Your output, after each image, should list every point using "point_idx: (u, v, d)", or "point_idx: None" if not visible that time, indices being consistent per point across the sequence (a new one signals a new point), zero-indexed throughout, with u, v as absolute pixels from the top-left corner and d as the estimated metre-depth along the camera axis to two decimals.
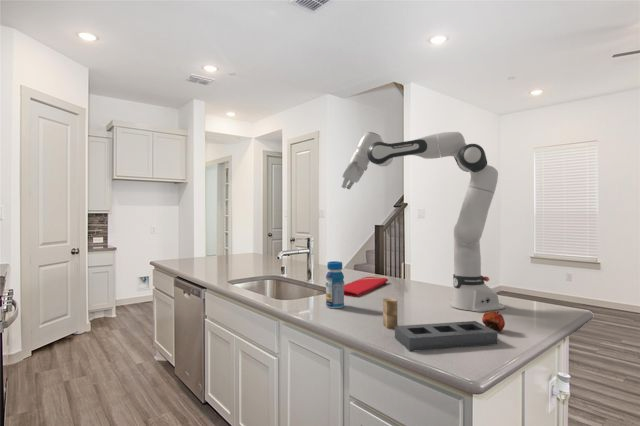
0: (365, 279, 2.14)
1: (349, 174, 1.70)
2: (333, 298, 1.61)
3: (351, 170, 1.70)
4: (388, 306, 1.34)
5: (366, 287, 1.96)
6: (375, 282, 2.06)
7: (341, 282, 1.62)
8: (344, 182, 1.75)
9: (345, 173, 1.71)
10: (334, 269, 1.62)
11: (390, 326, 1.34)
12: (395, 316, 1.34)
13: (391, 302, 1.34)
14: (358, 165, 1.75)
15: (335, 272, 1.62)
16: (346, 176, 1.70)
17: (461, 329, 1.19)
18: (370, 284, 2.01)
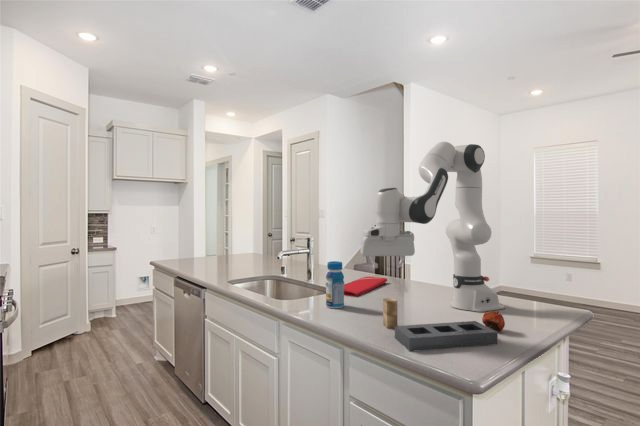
0: (364, 279, 2.14)
1: None
2: (333, 298, 1.61)
3: None
4: (388, 306, 1.34)
5: (365, 286, 1.96)
6: (374, 282, 2.07)
7: (341, 282, 1.62)
8: None
9: None
10: (334, 269, 1.62)
11: (390, 326, 1.34)
12: (395, 316, 1.34)
13: (391, 302, 1.34)
14: None
15: (335, 272, 1.62)
16: None
17: (461, 329, 1.19)
18: (369, 284, 2.02)
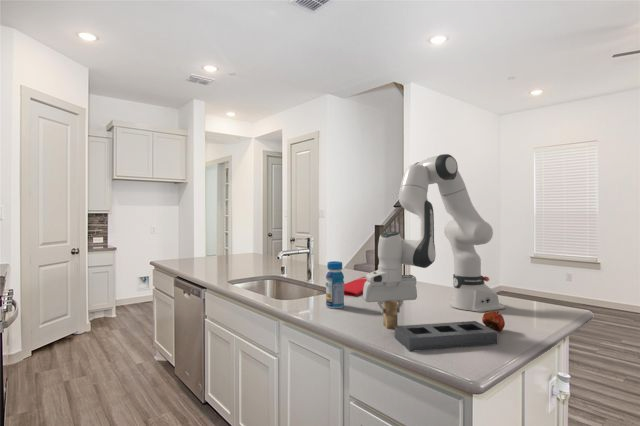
0: (363, 279, 2.15)
1: None
2: (333, 298, 1.61)
3: None
4: (388, 306, 1.34)
5: None
6: None
7: (341, 282, 1.62)
8: None
9: None
10: (334, 269, 1.62)
11: (390, 326, 1.34)
12: (395, 316, 1.34)
13: (391, 302, 1.34)
14: None
15: (335, 272, 1.62)
16: None
17: (461, 329, 1.19)
18: None
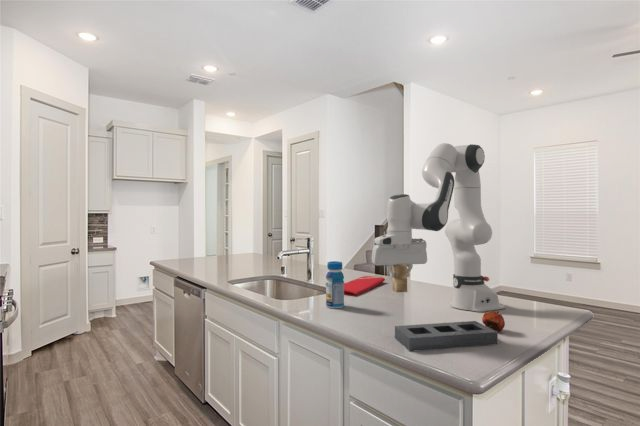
0: (362, 278, 2.15)
1: None
2: (333, 298, 1.61)
3: None
4: (397, 270, 1.31)
5: (363, 286, 1.97)
6: (372, 281, 2.08)
7: (341, 282, 1.62)
8: None
9: None
10: (334, 269, 1.62)
11: (400, 290, 1.31)
12: (405, 280, 1.31)
13: (401, 265, 1.31)
14: None
15: (335, 272, 1.62)
16: None
17: (461, 329, 1.19)
18: (367, 283, 2.03)
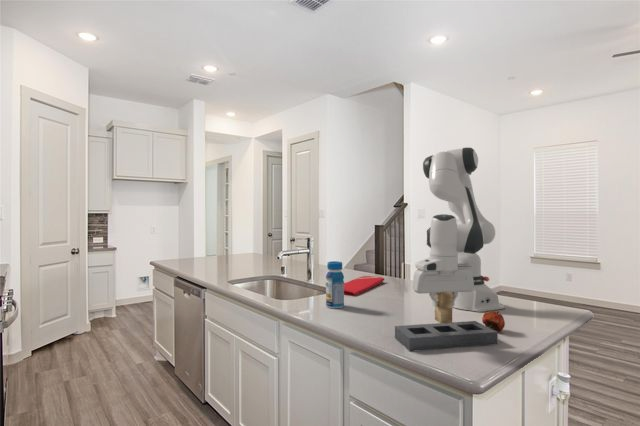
0: (362, 278, 2.16)
1: None
2: (333, 298, 1.61)
3: None
4: (442, 298, 1.18)
5: (363, 286, 1.98)
6: (372, 281, 2.08)
7: (341, 282, 1.62)
8: None
9: None
10: (334, 269, 1.62)
11: (444, 321, 1.18)
12: (450, 310, 1.19)
13: (445, 294, 1.18)
14: None
15: (335, 272, 1.62)
16: None
17: (461, 329, 1.19)
18: (367, 283, 2.03)
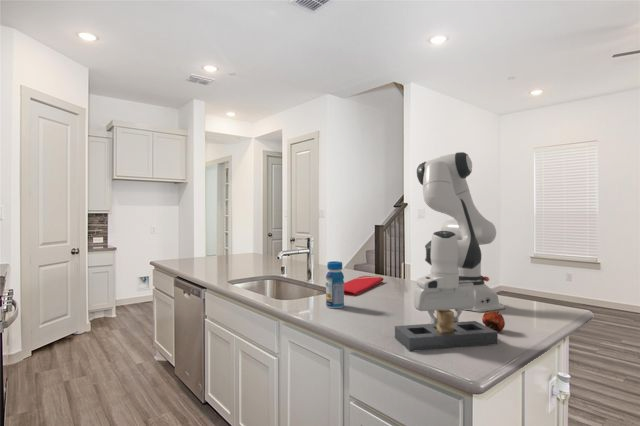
0: (361, 278, 2.16)
1: None
2: (333, 298, 1.61)
3: None
4: (444, 319, 1.18)
5: (362, 286, 1.98)
6: (371, 281, 2.09)
7: (341, 282, 1.62)
8: None
9: None
10: (334, 269, 1.62)
11: None
12: (451, 330, 1.19)
13: (447, 314, 1.18)
14: None
15: (335, 272, 1.62)
16: None
17: (461, 329, 1.19)
18: (366, 283, 2.04)
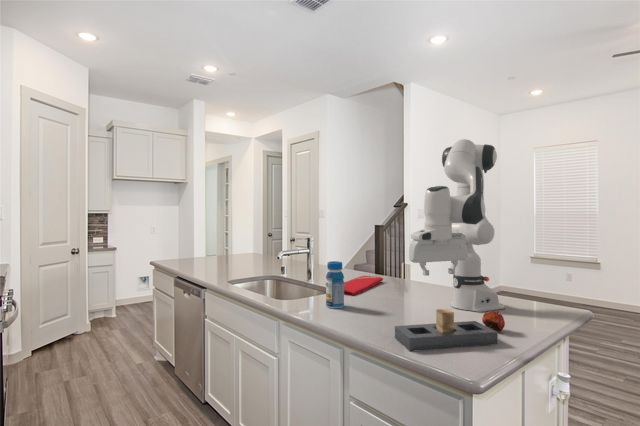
0: (360, 278, 2.17)
1: None
2: (333, 298, 1.61)
3: None
4: (443, 319, 1.18)
5: (361, 286, 1.98)
6: (370, 281, 2.09)
7: (341, 282, 1.62)
8: None
9: None
10: (334, 269, 1.62)
11: None
12: (451, 330, 1.19)
13: (447, 314, 1.18)
14: None
15: (335, 272, 1.62)
16: None
17: (461, 329, 1.19)
18: (365, 283, 2.04)
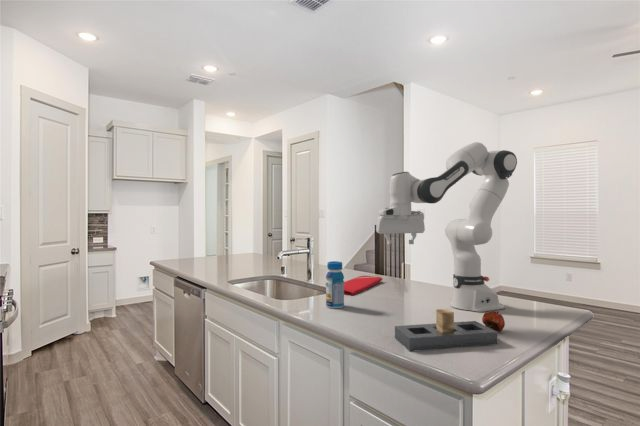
0: (360, 278, 2.17)
1: None
2: (333, 298, 1.61)
3: None
4: (443, 319, 1.18)
5: (360, 285, 1.99)
6: (370, 281, 2.10)
7: (341, 282, 1.62)
8: None
9: None
10: (334, 269, 1.62)
11: None
12: (451, 330, 1.19)
13: (447, 314, 1.18)
14: None
15: (335, 272, 1.62)
16: None
17: (461, 329, 1.19)
18: (365, 283, 2.05)
